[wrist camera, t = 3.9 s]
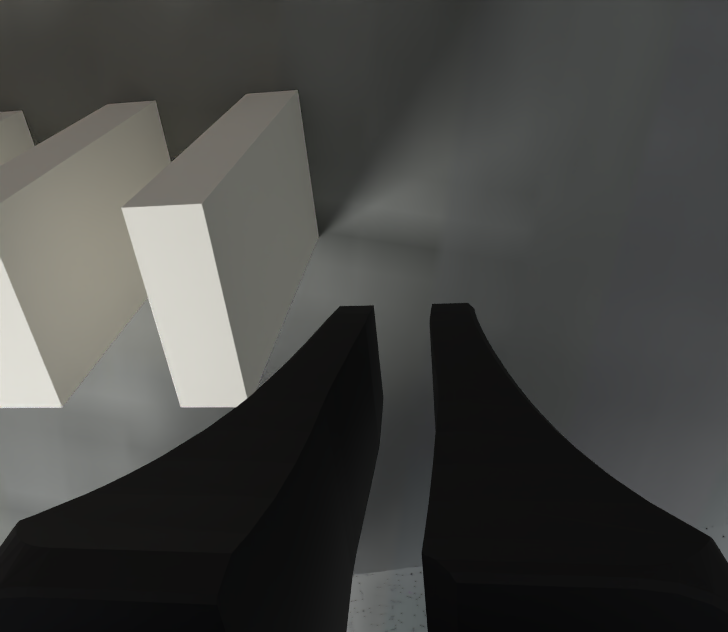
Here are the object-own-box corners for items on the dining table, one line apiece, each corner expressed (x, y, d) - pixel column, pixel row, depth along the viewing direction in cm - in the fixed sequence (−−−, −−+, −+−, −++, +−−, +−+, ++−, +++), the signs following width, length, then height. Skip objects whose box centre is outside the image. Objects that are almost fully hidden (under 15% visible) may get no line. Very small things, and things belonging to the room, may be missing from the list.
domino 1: (155, 100, 21) (-18, 214, 13) (191, 242, 23) (62, 407, 16) (107, 104, 21) (-90, 218, 13) (147, 244, 24) (-1, 407, 16)
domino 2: (297, 90, 20) (201, 203, 13) (318, 237, 23) (249, 407, 15) (246, 93, 20) (120, 207, 13) (272, 239, 23) (180, 407, 15)
